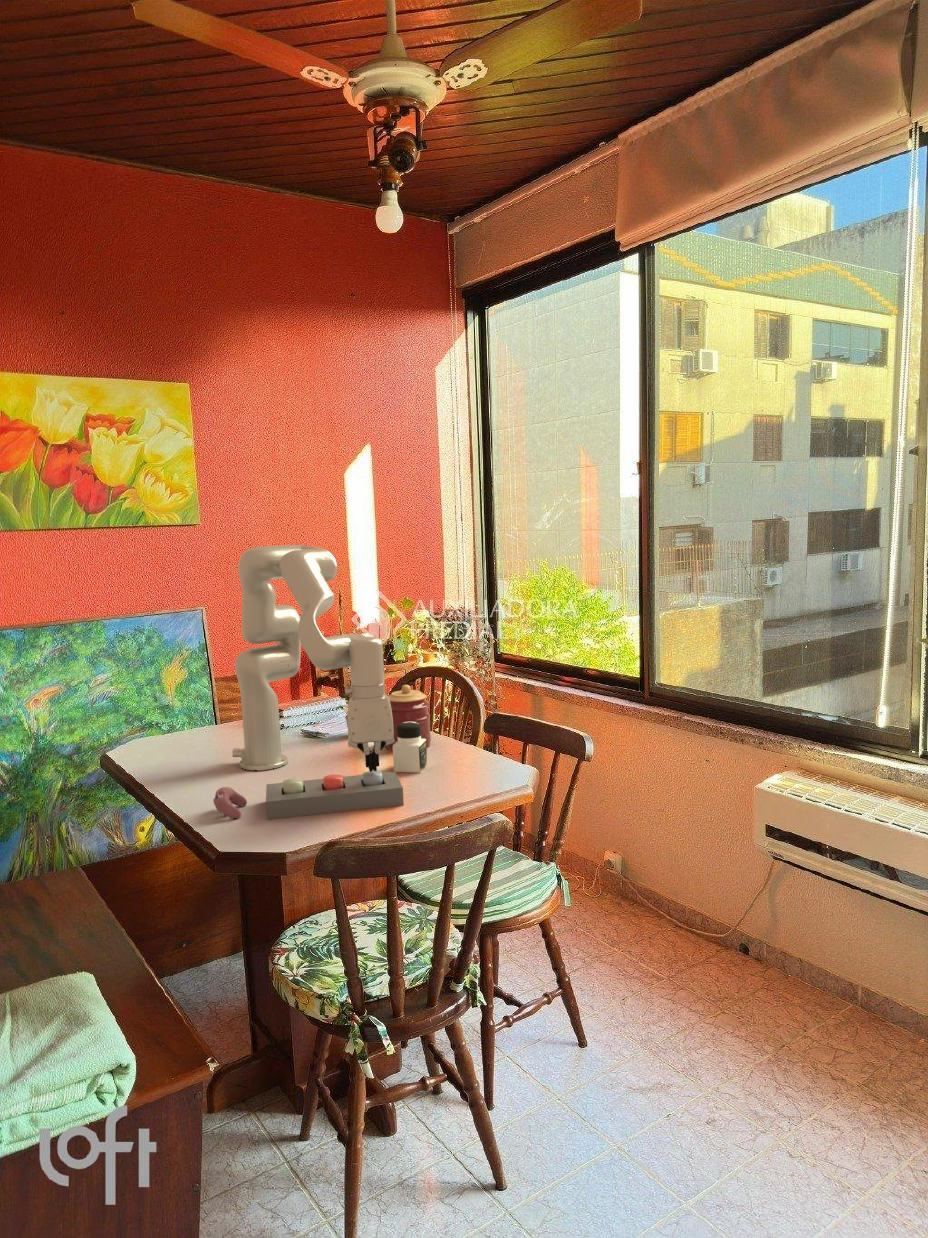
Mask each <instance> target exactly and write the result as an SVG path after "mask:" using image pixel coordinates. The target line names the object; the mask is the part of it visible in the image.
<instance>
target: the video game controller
mask: <svg viewBox="0 0 928 1238" xmlns="http://www.w3.org/2000/svg"><path fill="white" fill-rule="evenodd" d="M214 795H215V796H214V798H213V800H212V801H213V805H214V807H215V808H216V810H217V811H218V812H219V813H221V814H223V815H224V816H225V815H226V816H225V817H228V818H230V819H233V818H239V819H240V818H241V816H242V814H241V811H240V810H239V808H238V807H242V806H241V805H245V806H247V804H248V801H247V799H246V798H245V796H243V795H242V794H240V793H238V792H237V791H236V790H235V789H233V788H232V787H230V786H229V785H227V786H226V787H225V786H223V787H220V788H218V789H217V790H216V792H215V794H214ZM236 806H237V807H236Z"/></svg>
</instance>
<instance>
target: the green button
mask: <svg viewBox="0 0 928 1238" xmlns="http://www.w3.org/2000/svg"><path fill="white" fill-rule="evenodd" d="M303 781H304V780H303V779H302V778H289V779H285V780H284V781H282V783H283V791H284V794H294V793H304V792H303Z"/></svg>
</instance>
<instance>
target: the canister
mask: <svg viewBox="0 0 928 1238" xmlns="http://www.w3.org/2000/svg"><path fill="white" fill-rule="evenodd" d="M388 696H389V700H390V704H391V710H392V718H393V729H394V740H395V742H394V743H391V744H388V745H386V748H388V749H389V750H392V751H393V745H394V744H395V743H396V742H397V741H398V737H397V726H398V725H399V724H401V723H403V722H416V723H419V724H420V725H421V739H426V748H428V747H429V746H431V742H432V734H431V721H430V720H431V719H430V718H431V714H430V713H429V707H430V705H431V704H430V702H429V701H427V700H426V698H427V695H426V693H423V692H422V691H420V690H416V689H411V686H410V685H409V684H404V685H402V686H401V689H400V690H396V691H393V692H391V694H389V695H388Z"/></svg>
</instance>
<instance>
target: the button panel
mask: <svg viewBox="0 0 928 1238" xmlns="http://www.w3.org/2000/svg"><path fill="white" fill-rule="evenodd" d="M382 780H383V784H382V785H372V786H364V785H363V774H357V775H348V776H347V775H346V776H343V789H333V790H324V781H323V778H317V779H308V780H306V779H305V780H303V792H304V793H294V794H284V791H283V782H277V783H269V784H266V785H265V786H266V790H265V793H266V794H265V807H266V820H267V819H269V820H275V819H274V818H278V819H284V818H283V817H287V818H293V817H292V816H296V817H302V816H301V815H306V816H314V815H313V814H315V815H323V814H331V813H341V812H350V811H351V812H352V811H359V810H367V809H368V810H369V809H380V808H388V807H396V806H404V805H405V801H404V787H403V785H402V783H401V781H400V779H399V776H398V775H397V772H394V771H389V772H382Z"/></svg>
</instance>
